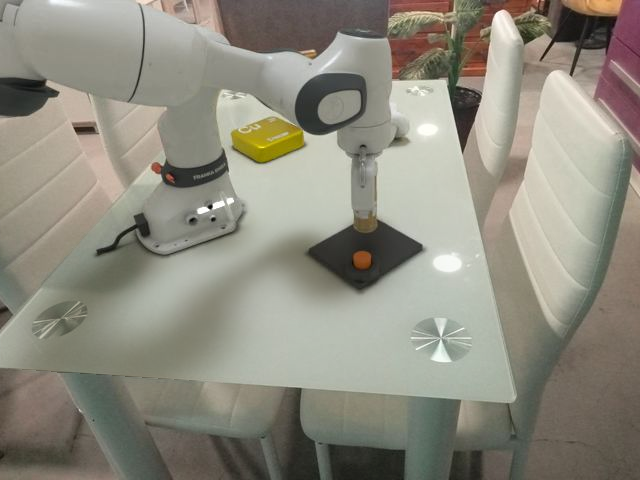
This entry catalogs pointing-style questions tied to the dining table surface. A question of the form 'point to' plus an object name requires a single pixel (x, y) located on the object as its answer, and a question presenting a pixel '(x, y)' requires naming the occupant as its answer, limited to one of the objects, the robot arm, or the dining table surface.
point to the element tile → (267, 139)
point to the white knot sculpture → (398, 122)
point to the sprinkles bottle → (368, 221)
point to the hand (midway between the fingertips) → (364, 204)
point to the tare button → (362, 260)
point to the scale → (380, 244)
